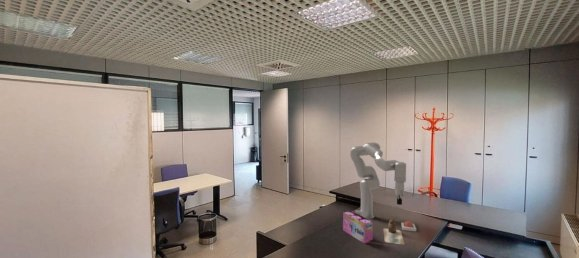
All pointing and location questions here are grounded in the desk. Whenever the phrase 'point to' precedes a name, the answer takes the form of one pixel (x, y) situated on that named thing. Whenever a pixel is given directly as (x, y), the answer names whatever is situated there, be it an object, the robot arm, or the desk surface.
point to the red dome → (408, 224)
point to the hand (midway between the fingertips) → (399, 204)
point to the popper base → (408, 227)
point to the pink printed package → (358, 226)
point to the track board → (393, 237)
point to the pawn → (392, 226)
